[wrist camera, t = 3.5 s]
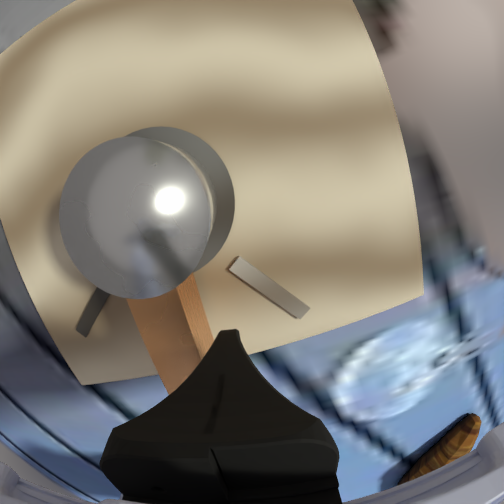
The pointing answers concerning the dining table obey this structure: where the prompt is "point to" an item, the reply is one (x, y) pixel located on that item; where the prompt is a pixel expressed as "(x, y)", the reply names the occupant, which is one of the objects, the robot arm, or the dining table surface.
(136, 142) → the wooden handled dome
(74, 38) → the base plate
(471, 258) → the dining table surface
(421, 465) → the croissant
